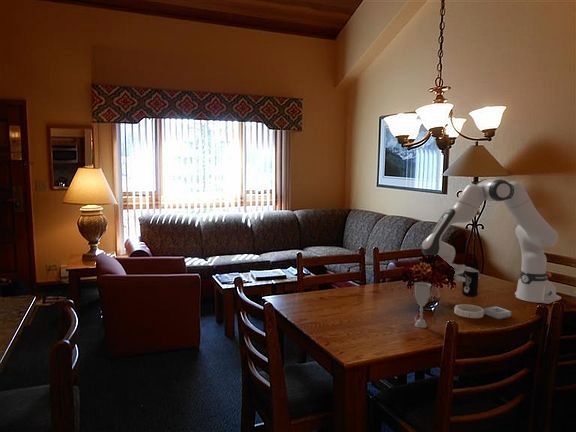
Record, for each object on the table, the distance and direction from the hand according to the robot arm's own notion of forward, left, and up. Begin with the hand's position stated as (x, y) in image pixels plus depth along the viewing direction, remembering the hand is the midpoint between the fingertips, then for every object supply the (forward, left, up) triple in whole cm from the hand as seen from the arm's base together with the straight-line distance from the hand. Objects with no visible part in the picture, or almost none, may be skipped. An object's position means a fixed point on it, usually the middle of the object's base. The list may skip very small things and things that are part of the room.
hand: (472, 278), depth 202 cm
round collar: (0, -1, -17) cm, 17 cm away
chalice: (+31, +2, -17) cm, 35 cm away
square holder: (-10, +6, -17) cm, 20 cm away
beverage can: (0, -1, -8) cm, 8 cm away
